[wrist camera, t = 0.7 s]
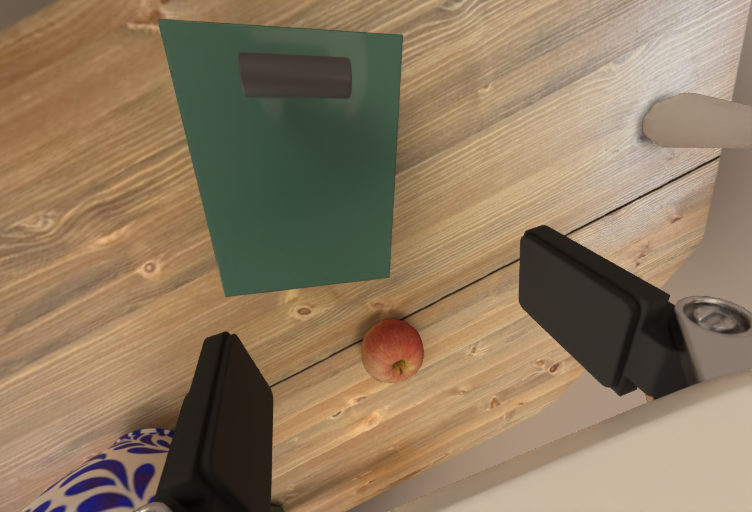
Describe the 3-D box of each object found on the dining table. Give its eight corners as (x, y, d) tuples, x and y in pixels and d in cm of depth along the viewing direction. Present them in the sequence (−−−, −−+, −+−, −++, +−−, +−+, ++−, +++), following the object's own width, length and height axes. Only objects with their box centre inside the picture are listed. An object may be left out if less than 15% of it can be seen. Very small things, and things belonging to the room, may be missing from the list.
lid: (162, 20, 16) (120, 1, 12) (398, 36, 19) (432, 24, 15) (226, 291, 24) (215, 336, 20) (386, 272, 27) (406, 309, 23)
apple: (349, 318, 41) (362, 366, 34) (407, 299, 42) (431, 342, 35) (362, 360, 45) (376, 409, 39) (415, 342, 46) (437, 387, 40)
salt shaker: (633, 152, 40) (767, 180, 29) (636, 105, 37) (786, 118, 26) (675, 130, 40) (824, 151, 29) (681, 83, 37) (850, 85, 26)
